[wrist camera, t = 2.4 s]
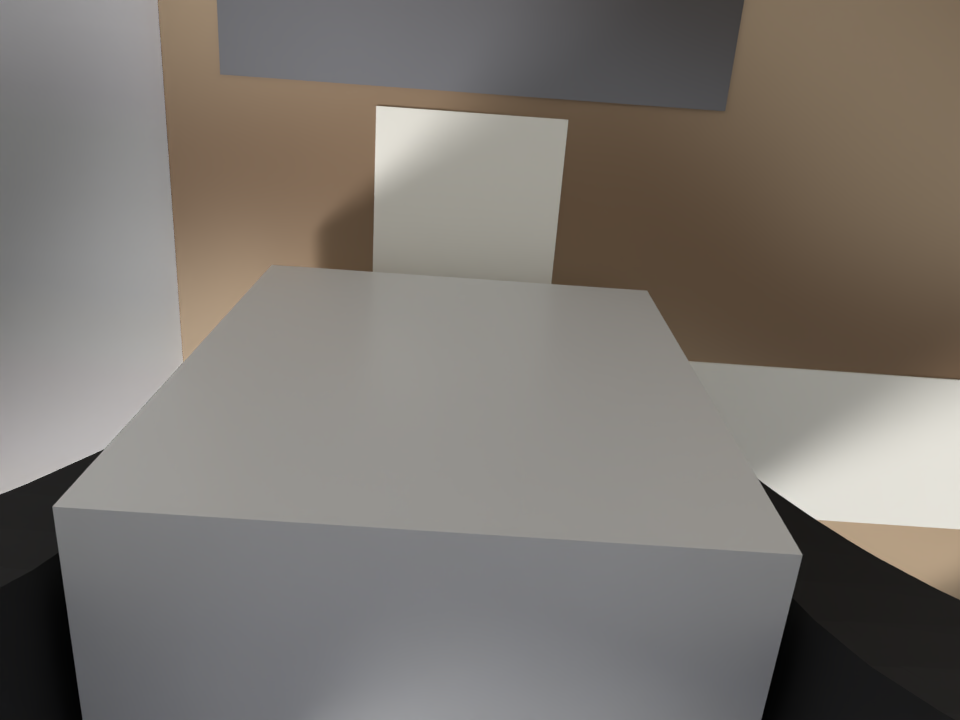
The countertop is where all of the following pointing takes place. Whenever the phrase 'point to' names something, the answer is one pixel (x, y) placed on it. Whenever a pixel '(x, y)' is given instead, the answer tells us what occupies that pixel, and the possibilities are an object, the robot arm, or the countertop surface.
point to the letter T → (732, 388)
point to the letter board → (611, 165)
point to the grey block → (426, 517)
